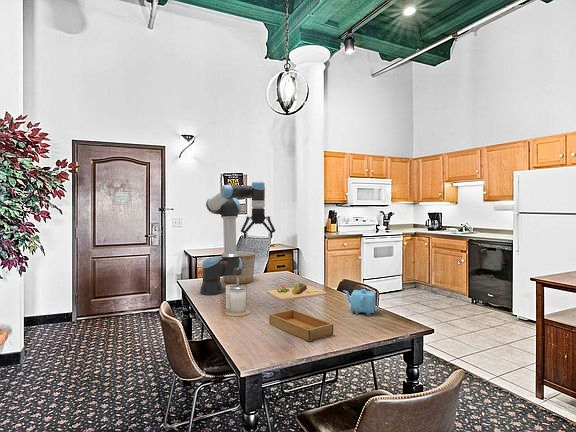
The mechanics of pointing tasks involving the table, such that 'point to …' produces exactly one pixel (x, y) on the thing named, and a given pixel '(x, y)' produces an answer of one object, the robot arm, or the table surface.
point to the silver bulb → (237, 287)
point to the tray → (301, 324)
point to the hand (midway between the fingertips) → (258, 244)
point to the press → (236, 303)
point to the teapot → (362, 301)
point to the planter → (243, 269)
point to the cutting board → (295, 292)
